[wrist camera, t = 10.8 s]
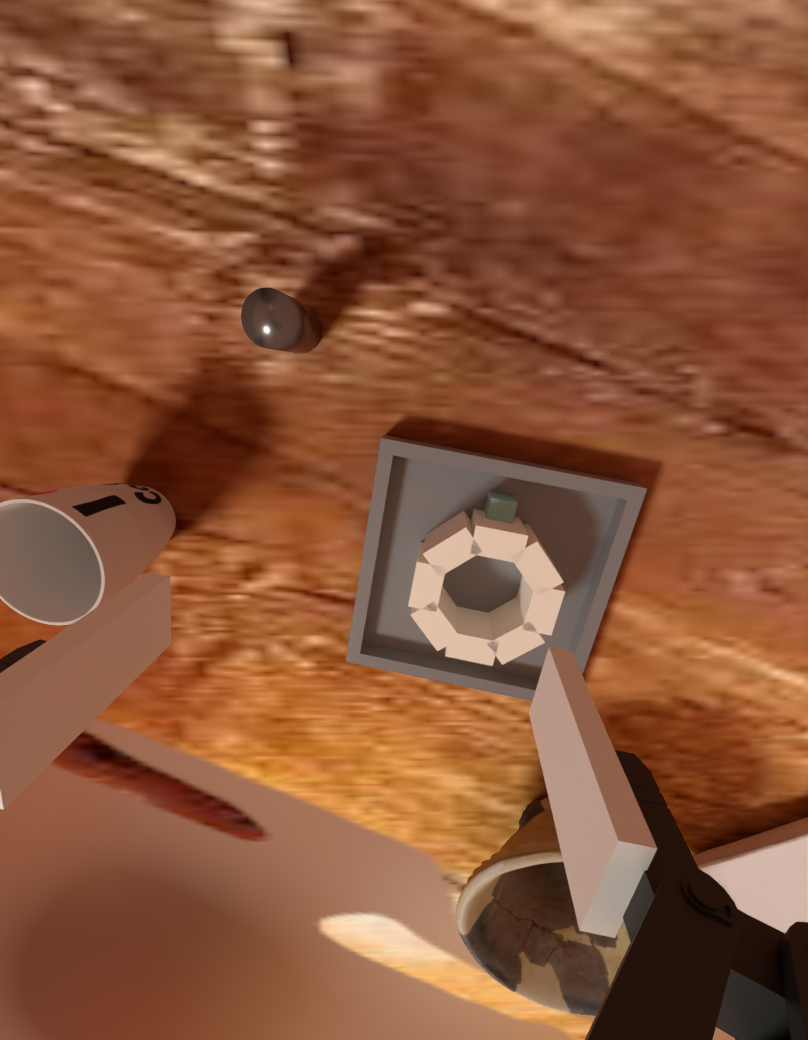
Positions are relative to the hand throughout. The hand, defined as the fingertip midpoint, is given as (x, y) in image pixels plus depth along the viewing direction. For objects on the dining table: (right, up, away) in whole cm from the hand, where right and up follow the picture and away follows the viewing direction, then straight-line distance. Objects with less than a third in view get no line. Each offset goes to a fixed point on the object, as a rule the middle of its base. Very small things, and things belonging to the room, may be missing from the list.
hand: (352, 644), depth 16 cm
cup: (-19, +5, +21) cm, 29 cm away
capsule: (-5, +17, +16) cm, 24 cm away
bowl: (+16, -24, +26) cm, 39 cm away
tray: (+8, 0, +20) cm, 21 cm away
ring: (+8, 0, +19) cm, 21 cm away
